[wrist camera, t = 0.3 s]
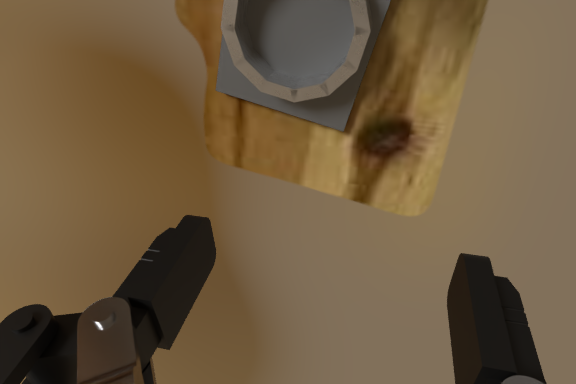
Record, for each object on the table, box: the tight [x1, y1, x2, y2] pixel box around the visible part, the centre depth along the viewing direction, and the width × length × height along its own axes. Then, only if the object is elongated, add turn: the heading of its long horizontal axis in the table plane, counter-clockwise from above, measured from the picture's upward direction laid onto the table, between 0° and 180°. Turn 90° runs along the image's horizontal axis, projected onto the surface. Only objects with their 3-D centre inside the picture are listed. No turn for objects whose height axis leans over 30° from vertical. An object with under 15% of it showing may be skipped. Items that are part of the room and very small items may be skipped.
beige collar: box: [221, 0, 373, 103], centre depth 34 cm, size 12×12×3 cm
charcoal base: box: [216, 0, 391, 131], centre depth 35 cm, size 18×14×1 cm
